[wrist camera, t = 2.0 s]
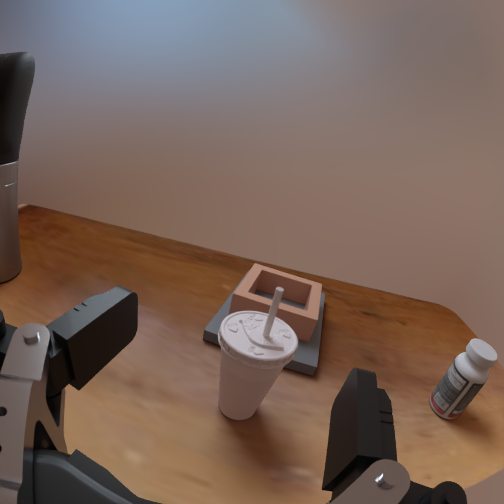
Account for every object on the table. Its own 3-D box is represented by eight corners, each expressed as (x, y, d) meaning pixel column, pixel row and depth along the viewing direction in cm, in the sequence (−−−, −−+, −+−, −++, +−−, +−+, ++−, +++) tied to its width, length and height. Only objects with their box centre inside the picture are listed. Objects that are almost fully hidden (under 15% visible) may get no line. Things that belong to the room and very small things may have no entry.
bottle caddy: (202, 339, 34) (208, 305, 33) (247, 277, 53) (253, 251, 51) (312, 375, 32) (327, 344, 30) (322, 300, 50) (331, 275, 49)
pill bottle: (458, 399, 30) (496, 345, 26) (459, 425, 25) (504, 368, 21) (428, 387, 32) (465, 331, 28) (426, 413, 27) (470, 353, 24)
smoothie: (237, 442, 22) (281, 322, 17) (191, 398, 25) (210, 273, 20) (281, 409, 27) (331, 294, 21) (237, 374, 30) (268, 259, 25)
